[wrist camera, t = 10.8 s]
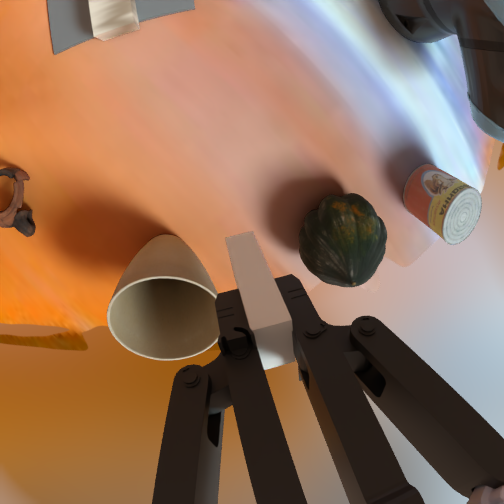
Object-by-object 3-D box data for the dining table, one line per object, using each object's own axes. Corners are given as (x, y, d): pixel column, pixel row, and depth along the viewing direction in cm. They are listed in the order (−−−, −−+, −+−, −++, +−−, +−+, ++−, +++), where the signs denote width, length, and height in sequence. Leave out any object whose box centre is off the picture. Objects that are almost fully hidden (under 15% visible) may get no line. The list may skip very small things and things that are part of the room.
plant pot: (125, 287, 49) (115, 359, 36) (122, 210, 42) (99, 273, 29) (207, 290, 53) (219, 361, 40) (217, 215, 46) (234, 278, 33)
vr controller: (-10, 206, 35) (-33, 200, 27) (21, 162, 37) (2, 150, 29) (30, 251, 39) (10, 253, 31) (62, 206, 40) (47, 200, 33)
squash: (398, 194, 44) (388, 238, 34) (381, 265, 53) (364, 320, 43) (319, 175, 50) (284, 210, 40) (313, 246, 59) (281, 292, 48)
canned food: (434, 153, 48) (478, 176, 38) (445, 195, 54) (483, 221, 44) (396, 183, 50) (438, 212, 40) (410, 224, 56) (446, 255, 46)
